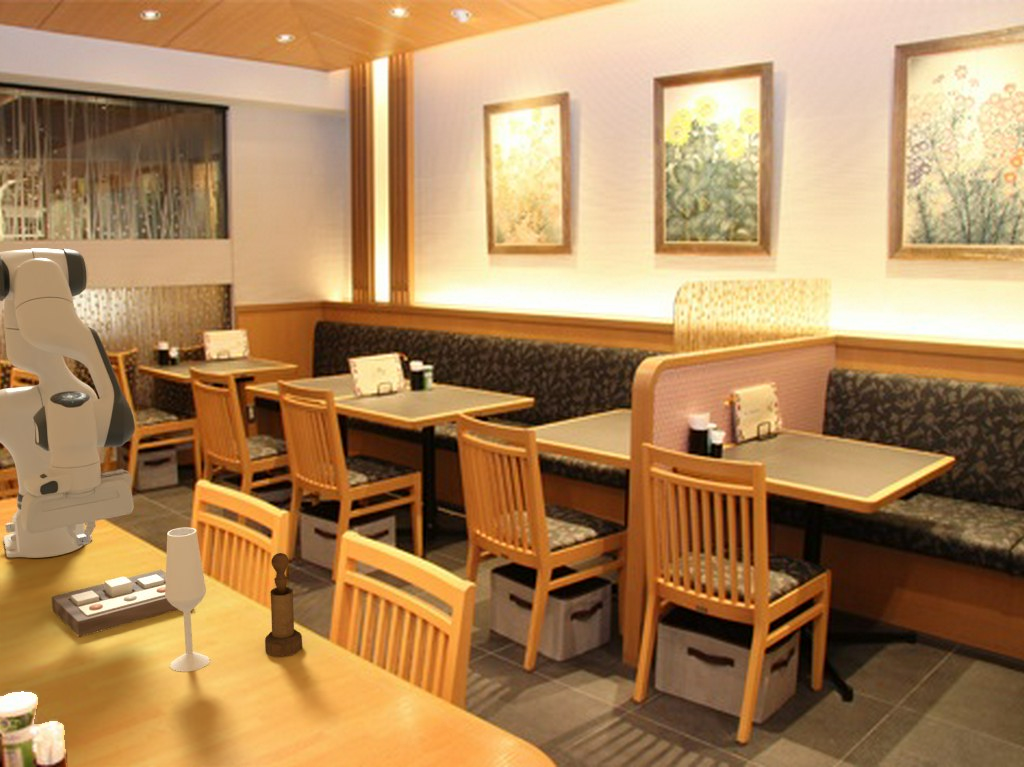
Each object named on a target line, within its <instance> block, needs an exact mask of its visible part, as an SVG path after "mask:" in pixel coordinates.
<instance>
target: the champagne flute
mask: <svg viewBox="0 0 1024 767" xmlns="http://www.w3.org/2000/svg"><path fill="white" fill-rule="evenodd" d="M166 536H167V537H166V558H165V559H166V560H165V573H166V584H165V596H166V599H167V600H168V602H169V603H170V604H171V605H172V606H174V607H175V608H177V609H178V610H177V611H181V612H182V613H183V614H182V615H183V628H184V629H183V630H184V645H185V653H183V654H181V655H180V656H178V657H177V658H175V659H173V661H171V663H170V664H171V665H170V664H169V667H170V669H171V670H173V671H175V670H176V672H180V671H181V672H183V673H187V672H194V671H198V670H200V669H203V668H205V667H206V666H208V665H210V664H209V663H210V661H211V659H210V657H209V656H207V655H205V654H201V653H199V652H196V651H194V648H193V645H194V644H193V632H192V615H191V612H192V611H193V610H194V609H195V608H196V607H197V606H198V605H199V604H200V603H201V602H202V601H203V599H204V598H205V595H206V592H207V588H206V587H207V586H206V582H205V575H204V570H203V564H202V558H201V551H200V544H199V538H198V532H197V529H196V528H194V527H177V528H174V529H171V530H169V531H167V534H166ZM208 657H209V658H208ZM209 659H210V660H209ZM204 666H205V667H204ZM181 672H180V673H181Z"/></svg>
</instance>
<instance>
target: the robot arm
mask: <svg viewBox="0 0 1024 767" xmlns="http://www.w3.org/2000/svg"><path fill="white" fill-rule="evenodd" d="M88 280H89V269H88V266H87V263H86V261H85V258H84V256H83V255H82V254H81V253H80V252H79V251H77V250H74V249H68V248H62V249H55V248H38V247H37V248H30V249H14V250H6V251H5V250H4V251H0V302H2V301H4V303H3V326H4V327H3V328H4V337H5V349H6V350H5V351H6V357H7V360H8V362H9V363H10V364H11V365H12V366H13V367H15V368H16V369H19V370H21V371H24V372H27V373H29V374H33V375H35V376H37V378H38V381H39V382H38V384H36V385H30V386H29V385H28V386H17V387H8V388H7V387H6V388H2V389H0V444H1V445H2V446H3V447H5V449H6V450H7V451H8V453H9V454H10V455H11V458H12V460H13V462H14V466H15V471H16V475H17V476H16V477H17V484H18V493H17V497H16V502H17V505H16V506H17V510H16V512H15V513H14V515H13V516H12V519H11V521H12V522H6V523H5V531H6V533H9V534H6V535H4V536H3V544H5V545H4V550H5V549H6V550H5V554H6V557H7V558H28V559H29V558H31V559H32V558H33V559H39V558H49V557H56V556H61V555H65V554H68V553H69V554H70V553H72V552H75V551H77V550H78V549H81V548H82V547H83V546H85V545H89V544H91V542H92V540H93V535H92V533H93V532H94V529H95V528H96V522H97V521H101V520H106V519H111V518H116V517H120V516H126V515H130V514H132V512H133V510H134V509H135V505H134V498H133V493H132V489H131V487H132V484H133V483H132V482H133V480H132V475H131V473H130V471H129V470H124V469H123V468H117V469H114V470H105V471H101V458H100V455H99V452H98V448H112V447H113V448H115V447H117V448H118V447H122V446H124V444H125V443H127V442H128V441H129V440H130V439H131V438H132V437H133V435H134V433H135V431H136V430H135V429H136V421H135V420H136V419H135V416H134V415H135V414H134V413H133V410H132V408H131V406H130V404H129V402H128V400H127V398H126V396H125V394H124V392H123V390H122V388H121V386H120V383H119V380H118V378H117V375H116V373H115V371H114V368H113V366H112V363H111V361H110V358H109V356H108V353H107V350H106V348H105V346H104V344H103V342H102V339H101V337H100V336H99V334H98V332H97V331H96V329H94V328H91V327H90V326H87V325H86V324H85V323H84V322H83V321H82V320H81V318H80V316H78V313H77V312H76V308H75V303H74V299H73V297H75V296H78V295H81V293H82V292H84V291H85V289H86V288H87V283H88ZM64 357H66V358H69V359H71V360H72V359H73V360H75V361H77V362H79V363H81V364H82V365H84V366H85V368H86V369H87V370H88V373H89V375H90V377H91V379H92V381H93V384H94V387H95V389H96V391H95V390H94V389H93V387H91V386H90V385H88V384H87V383H85V382H83V381H82V380H80V379H79V378H78V377H76V376H75V374H73V372H72V371H71V370H70V369H69V367H68V365H67V364H66V361H65V358H64ZM96 392H97V393H96ZM97 394H98V395H97ZM98 397H99V398H98ZM85 526H86V527H85Z"/></svg>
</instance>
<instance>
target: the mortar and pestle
mask: <svg viewBox="0 0 1024 767" xmlns="http://www.w3.org/2000/svg"><path fill="white" fill-rule="evenodd" d="M289 562H290V560H289V556H288V555H287V554H286V553H284V552H283V553H282V552H279V553H275V554H274V555H273V556H272V558H271V565H272V566H271V567H272V568H273V569H274V571H275V572H276V575H275V576H276V577H274V584H275V588H273V589H271V590H270V605H271V606H270V610H271V611H270V612H271V631H270V632H269V634H267V635H266V637H264V638H265V639H264V645H265V648H264V650H265V652H266V654H267V655H269V656H272V657H280V658H282V657H290V656H292V655H295V654H297V653H299V652H300V651H302V648H303V635H302V633H301V632H299V631H298V630H297V629H295V623H294V622H295V620H294V618H295V616H294V589H292V588H291V587H288V586H287V585H288V577H287V576H286V574H285V573H286V570H287V568H288V566H289Z"/></svg>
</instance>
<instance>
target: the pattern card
mask: <svg viewBox="0 0 1024 767" xmlns="http://www.w3.org/2000/svg"><path fill="white" fill-rule="evenodd" d="M163 596H165V585H162V586H158V587H155V588H151V589H147V590H143V591H139V592H135V593H131V594H127V595H123V596H120V597H116V598H112V599H108V600H104V601H100V602H96V603H92V604H88V605H84V606H81V607H78V609H79V610H80V611H82V612H83V613H84V614H85V615H86V616H91V615H95V614H99V613H102V612H106V611H110V610H114V609H118V608H121V607H125V606H129V605H133V604H137V603H140V602H144V601H148V600H152V599H155V598H159V597H163Z"/></svg>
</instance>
